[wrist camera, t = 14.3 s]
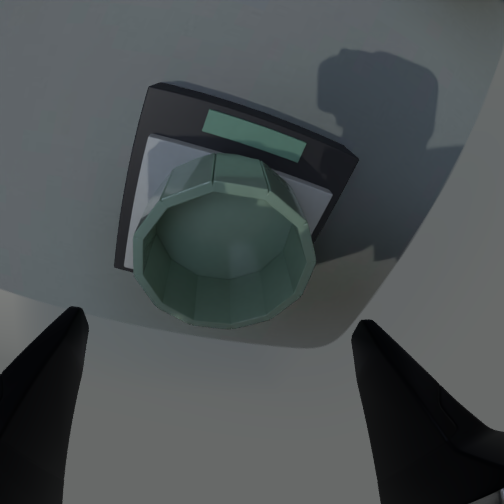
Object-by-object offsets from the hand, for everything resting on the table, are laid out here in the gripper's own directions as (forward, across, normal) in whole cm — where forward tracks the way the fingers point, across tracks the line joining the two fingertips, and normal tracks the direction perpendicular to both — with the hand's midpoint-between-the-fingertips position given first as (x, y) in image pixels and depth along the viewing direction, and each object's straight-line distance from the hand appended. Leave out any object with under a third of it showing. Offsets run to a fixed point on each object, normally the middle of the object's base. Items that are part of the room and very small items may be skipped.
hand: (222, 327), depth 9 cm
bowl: (+6, 0, 0) cm, 6 cm away
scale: (+9, 0, 0) cm, 9 cm away
